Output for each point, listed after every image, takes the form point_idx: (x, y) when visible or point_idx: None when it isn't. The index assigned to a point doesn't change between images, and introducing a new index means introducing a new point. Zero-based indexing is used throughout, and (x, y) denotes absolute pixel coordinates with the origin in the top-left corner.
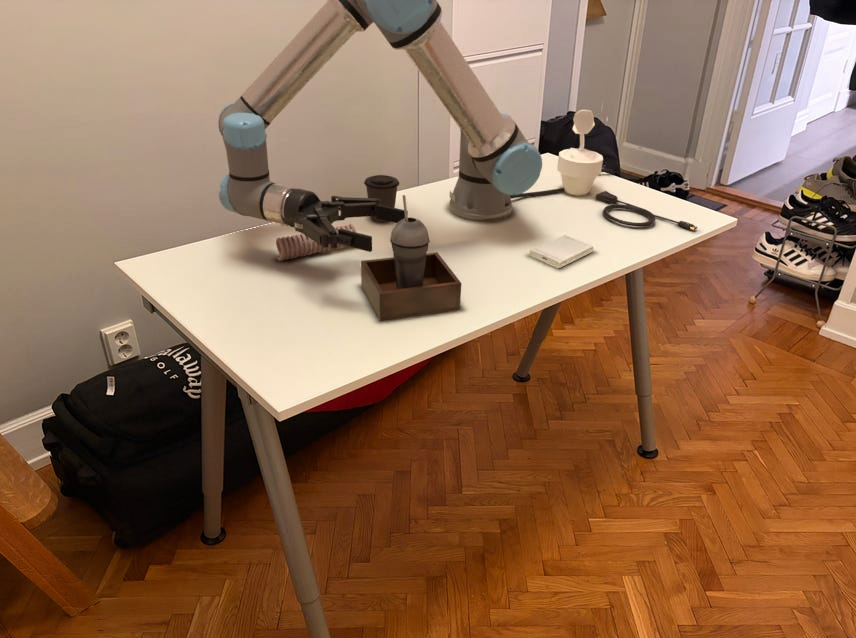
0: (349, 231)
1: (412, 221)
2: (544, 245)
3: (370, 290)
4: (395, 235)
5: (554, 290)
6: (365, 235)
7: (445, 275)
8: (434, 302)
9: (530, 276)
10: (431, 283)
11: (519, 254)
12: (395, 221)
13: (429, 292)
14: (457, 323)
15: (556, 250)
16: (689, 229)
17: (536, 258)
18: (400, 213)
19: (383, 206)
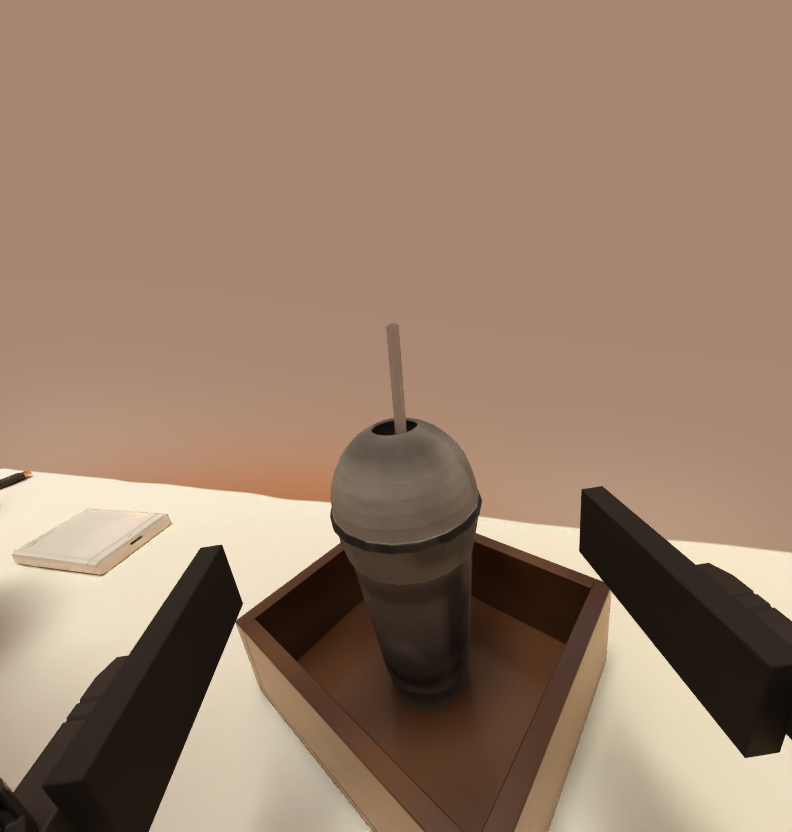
0: (692, 583)
1: (340, 473)
2: (72, 554)
3: (569, 729)
4: (468, 477)
5: (260, 501)
6: (609, 505)
7: (345, 568)
8: None
9: (210, 539)
10: (325, 659)
11: (86, 595)
12: (217, 653)
13: None
14: None
15: (105, 533)
16: (25, 477)
17: (120, 560)
18: (211, 582)
19: (124, 694)
